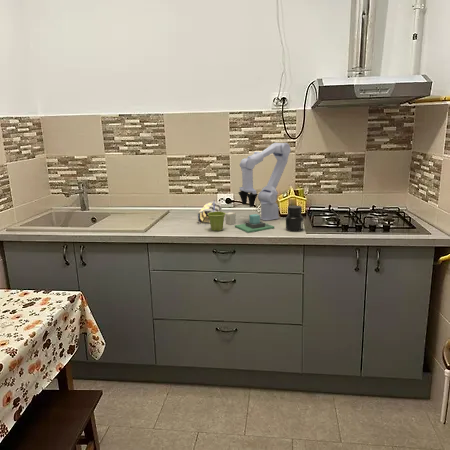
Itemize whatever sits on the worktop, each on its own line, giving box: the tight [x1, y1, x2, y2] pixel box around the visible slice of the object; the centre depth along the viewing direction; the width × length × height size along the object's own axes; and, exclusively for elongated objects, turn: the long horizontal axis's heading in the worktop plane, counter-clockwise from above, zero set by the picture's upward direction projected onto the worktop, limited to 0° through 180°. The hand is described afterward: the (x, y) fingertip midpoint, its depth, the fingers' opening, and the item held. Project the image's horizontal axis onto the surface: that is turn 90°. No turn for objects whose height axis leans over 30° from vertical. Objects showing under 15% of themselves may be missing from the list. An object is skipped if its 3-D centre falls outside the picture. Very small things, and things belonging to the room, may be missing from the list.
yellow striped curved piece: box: [197, 200, 223, 224], centre depth 249 cm, size 25×10×13 cm, turn 173°
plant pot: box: [207, 211, 227, 232], centre depth 224 cm, size 9×9×9 cm
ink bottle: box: [285, 205, 304, 232], centre depth 218 cm, size 10×9×12 cm
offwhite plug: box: [224, 211, 237, 226], centre depth 235 cm, size 4×4×6 cm
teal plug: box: [248, 213, 261, 224], centre depth 224 cm, size 4×4×6 cm
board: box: [234, 220, 275, 234], centre depth 226 cm, size 16×14×3 cm
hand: (248, 205), depth 234 cm, fingers open, 7 cm apart
